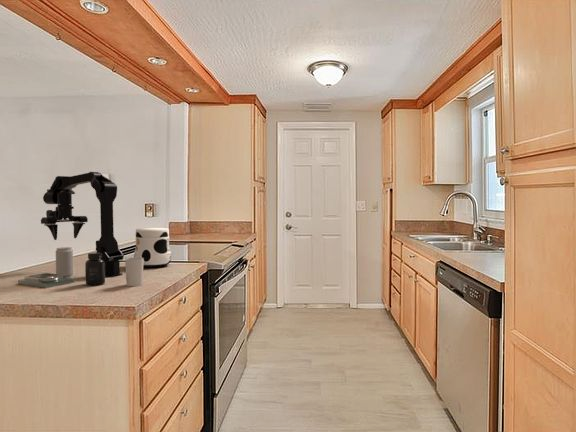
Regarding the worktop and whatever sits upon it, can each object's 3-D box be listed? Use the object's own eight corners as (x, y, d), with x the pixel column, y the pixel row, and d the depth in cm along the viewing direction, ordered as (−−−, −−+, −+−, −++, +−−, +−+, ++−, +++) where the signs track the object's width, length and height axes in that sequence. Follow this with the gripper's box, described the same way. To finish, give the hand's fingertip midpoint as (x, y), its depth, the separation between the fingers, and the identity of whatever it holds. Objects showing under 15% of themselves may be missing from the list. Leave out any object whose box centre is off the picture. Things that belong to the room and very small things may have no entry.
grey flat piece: (74, 282, 167) (74, 274, 167) (46, 288, 156) (46, 279, 156) (47, 278, 174) (47, 271, 174) (18, 284, 163) (18, 276, 163)
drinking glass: (125, 283, 165) (124, 257, 164) (143, 282, 167) (143, 257, 167) (125, 287, 159) (125, 260, 158) (144, 285, 161) (144, 259, 161)
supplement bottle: (109, 283, 166) (108, 252, 165) (95, 286, 159) (95, 254, 159) (94, 281, 168) (94, 251, 167) (81, 285, 161) (80, 253, 161)
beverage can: (68, 277, 176) (67, 248, 176) (52, 277, 176) (52, 248, 176) (76, 274, 183) (75, 246, 182) (61, 274, 183) (60, 246, 182)
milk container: (128, 265, 208) (127, 228, 207) (161, 262, 219) (161, 227, 219) (143, 270, 195) (142, 231, 194) (177, 266, 207) (177, 229, 206)
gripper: (73, 204, 204) (74, 236, 204) (33, 204, 188) (34, 239, 188) (88, 204, 198) (88, 237, 198) (47, 204, 182) (48, 241, 182)
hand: (65, 239), depth 192 cm, fingers open, 9 cm apart
